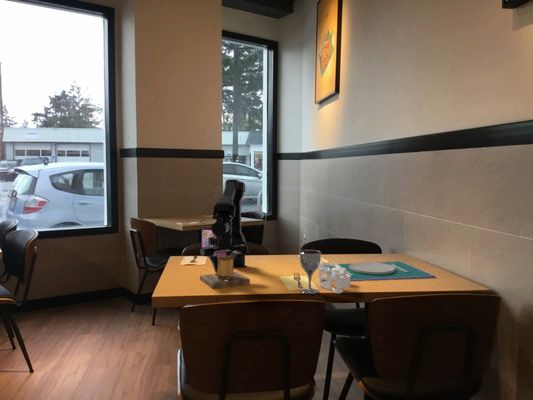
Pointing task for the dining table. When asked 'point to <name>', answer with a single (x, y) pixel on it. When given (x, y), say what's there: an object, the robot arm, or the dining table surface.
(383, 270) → the place mat
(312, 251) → the wine glass
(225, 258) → the notched tan hollow cylinder
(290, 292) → the dining table surface
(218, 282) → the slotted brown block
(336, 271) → the clear lumpy piece
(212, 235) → the gum box
